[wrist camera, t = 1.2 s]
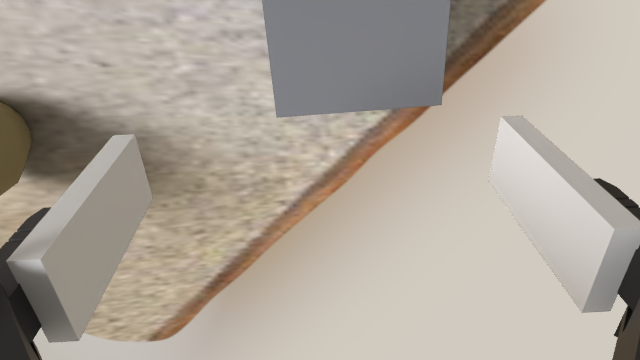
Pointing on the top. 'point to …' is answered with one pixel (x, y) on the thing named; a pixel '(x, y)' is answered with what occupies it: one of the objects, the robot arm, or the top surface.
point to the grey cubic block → (355, 54)
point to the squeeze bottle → (12, 147)
